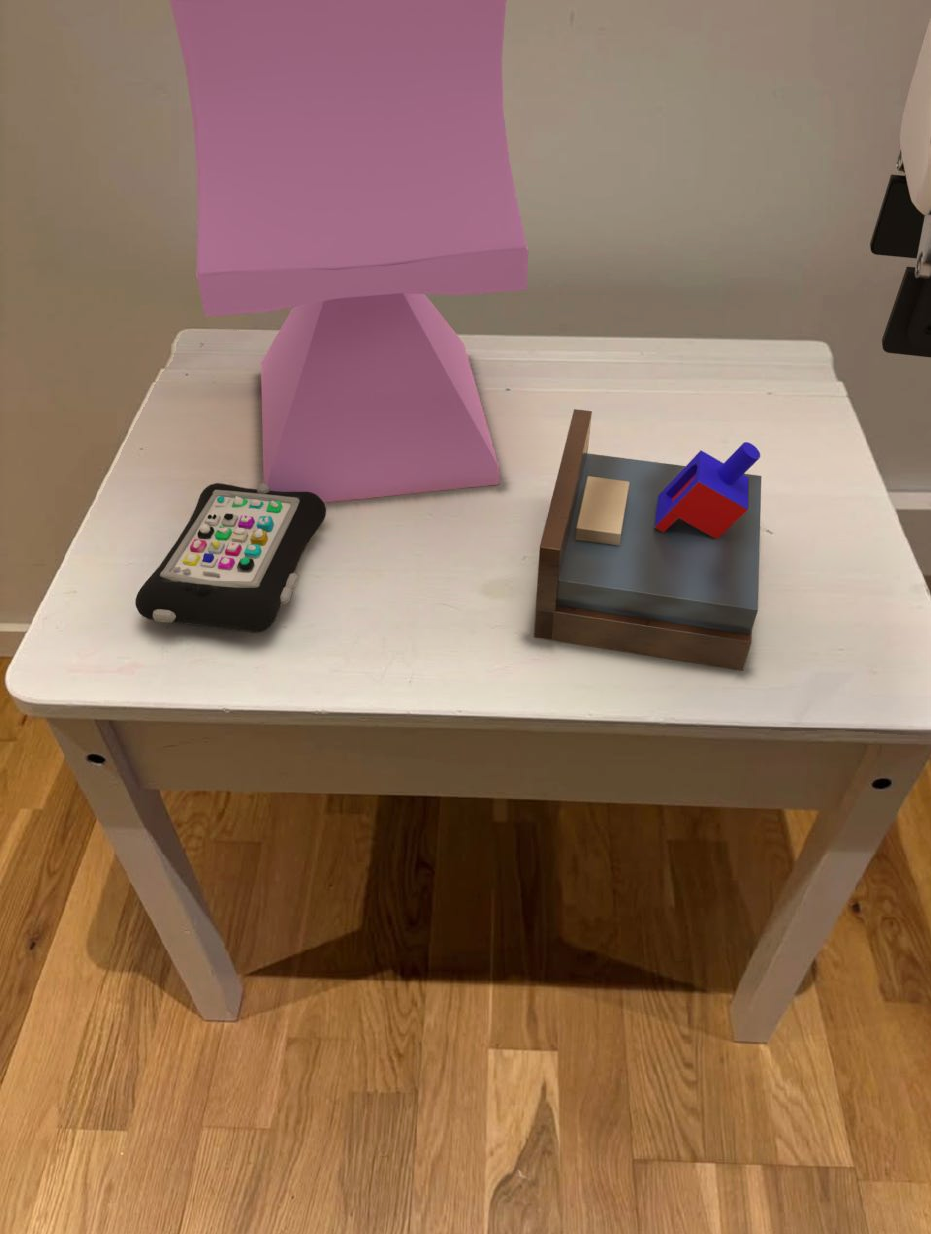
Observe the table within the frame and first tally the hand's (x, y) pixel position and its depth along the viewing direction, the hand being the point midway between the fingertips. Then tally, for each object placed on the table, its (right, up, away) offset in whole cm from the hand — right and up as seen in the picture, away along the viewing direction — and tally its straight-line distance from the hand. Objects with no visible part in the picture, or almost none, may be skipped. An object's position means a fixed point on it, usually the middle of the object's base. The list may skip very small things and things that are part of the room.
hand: (907, 300), depth 50 cm
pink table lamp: (-30, +1, +40) cm, 51 cm away
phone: (-40, -12, +28) cm, 50 cm away
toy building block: (-5, -9, +23) cm, 25 cm away
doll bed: (-8, -13, +27) cm, 31 cm away
